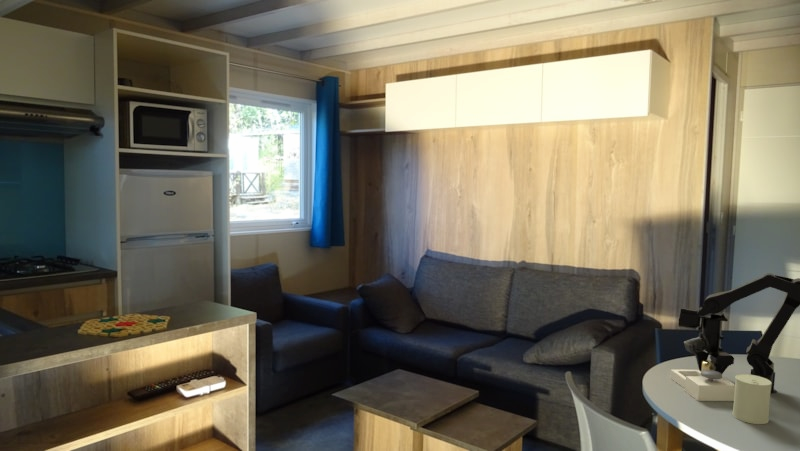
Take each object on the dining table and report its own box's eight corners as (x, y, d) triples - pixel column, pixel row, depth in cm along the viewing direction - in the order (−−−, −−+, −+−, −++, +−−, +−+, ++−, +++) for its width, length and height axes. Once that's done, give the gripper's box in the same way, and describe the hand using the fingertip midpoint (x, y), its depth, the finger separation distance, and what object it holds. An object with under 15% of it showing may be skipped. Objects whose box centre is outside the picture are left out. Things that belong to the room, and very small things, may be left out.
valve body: (700, 378, 204) (702, 356, 203) (735, 401, 184) (737, 377, 183) (666, 377, 203) (668, 356, 202) (697, 400, 183) (699, 377, 183)
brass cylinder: (710, 376, 205) (711, 360, 204) (717, 381, 201) (719, 364, 200) (698, 376, 205) (699, 360, 204) (705, 381, 200) (706, 364, 200)
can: (734, 420, 169) (737, 380, 168) (730, 408, 178) (733, 370, 176) (771, 426, 166) (775, 385, 165) (765, 414, 174) (768, 375, 173)
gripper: (674, 324, 210) (672, 366, 212) (703, 339, 191) (700, 385, 193) (705, 324, 210) (702, 366, 212) (736, 339, 192) (733, 385, 193)
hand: (708, 375), depth 203 cm, fingers open, 9 cm apart
